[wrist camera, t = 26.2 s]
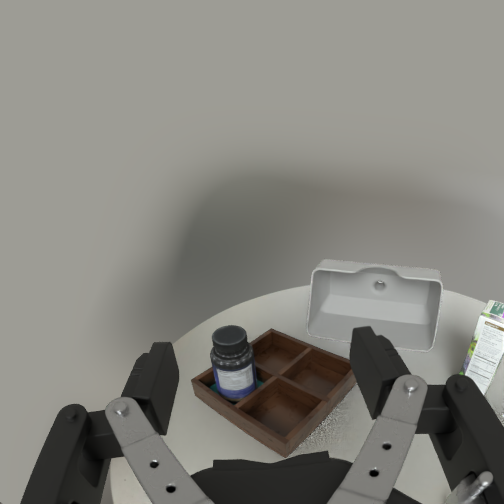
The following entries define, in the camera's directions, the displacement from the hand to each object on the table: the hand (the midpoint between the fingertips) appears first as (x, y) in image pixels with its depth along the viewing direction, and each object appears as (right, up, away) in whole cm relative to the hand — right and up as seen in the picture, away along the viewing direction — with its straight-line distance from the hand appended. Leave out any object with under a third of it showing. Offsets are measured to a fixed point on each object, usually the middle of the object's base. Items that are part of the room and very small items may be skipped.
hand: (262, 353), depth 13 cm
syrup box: (+35, -17, +23) cm, 45 cm away
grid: (+4, -17, +32) cm, 36 cm away
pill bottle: (-3, -17, +32) cm, 36 cm away
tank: (+25, -10, +46) cm, 53 cm away
